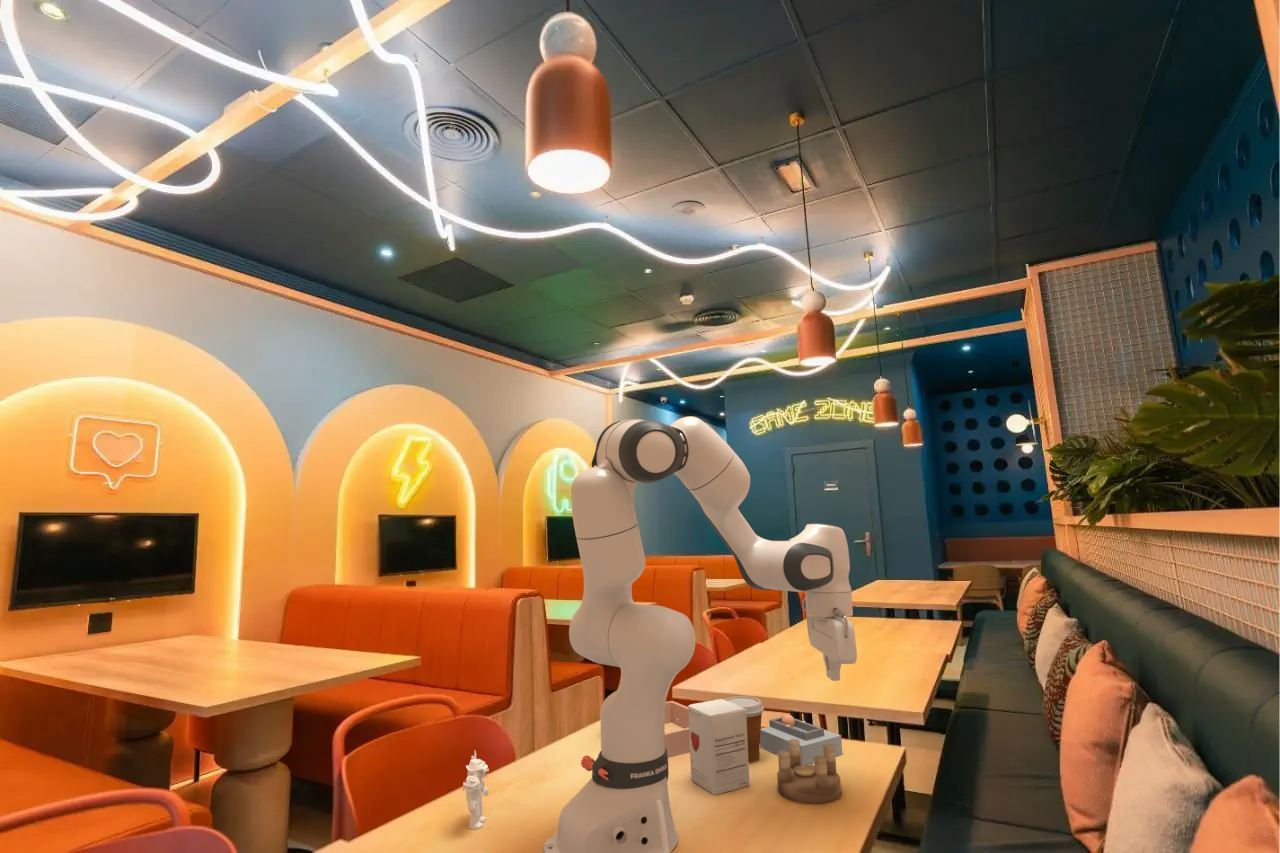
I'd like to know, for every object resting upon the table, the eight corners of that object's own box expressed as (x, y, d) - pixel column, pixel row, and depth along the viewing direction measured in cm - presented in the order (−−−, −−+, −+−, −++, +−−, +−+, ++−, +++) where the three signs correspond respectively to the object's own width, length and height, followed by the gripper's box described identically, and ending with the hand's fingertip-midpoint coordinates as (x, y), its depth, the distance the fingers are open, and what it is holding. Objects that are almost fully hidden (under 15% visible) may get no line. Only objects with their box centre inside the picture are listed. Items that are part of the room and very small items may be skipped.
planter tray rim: (647, 762, 143) (646, 738, 144) (603, 735, 162) (602, 714, 163) (723, 743, 154) (722, 721, 154) (673, 720, 172) (672, 700, 173)
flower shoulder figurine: (472, 813, 121) (473, 745, 123) (493, 812, 121) (493, 745, 123) (458, 836, 112) (458, 763, 114) (480, 836, 112) (480, 762, 114)
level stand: (802, 766, 138) (801, 738, 139) (760, 747, 150) (758, 721, 151) (842, 754, 144) (840, 727, 145) (798, 737, 156) (796, 712, 157)
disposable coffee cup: (766, 766, 139) (762, 708, 140) (722, 764, 140) (719, 707, 142) (766, 750, 148) (763, 696, 150) (725, 749, 150) (722, 695, 151)
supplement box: (689, 780, 133) (686, 704, 135) (725, 771, 137) (721, 697, 139) (714, 796, 125) (710, 715, 127) (751, 786, 129) (747, 707, 131)
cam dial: (854, 797, 122) (851, 755, 123) (797, 807, 118) (794, 764, 119) (820, 774, 133) (817, 735, 134) (766, 782, 130) (764, 743, 131)
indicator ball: (788, 731, 149) (787, 717, 149) (779, 727, 151) (778, 714, 152) (797, 728, 150) (797, 715, 151) (789, 725, 153) (788, 712, 153)
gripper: (862, 612, 117) (868, 692, 115) (830, 600, 137) (834, 668, 135) (828, 612, 117) (833, 692, 115) (800, 600, 137) (804, 668, 135)
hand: (833, 679), depth 125 cm, fingers closed
